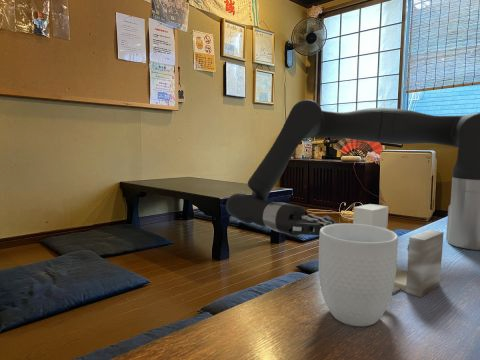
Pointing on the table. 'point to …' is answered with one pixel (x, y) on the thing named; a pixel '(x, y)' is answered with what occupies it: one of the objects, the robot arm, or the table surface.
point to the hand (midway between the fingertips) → (343, 231)
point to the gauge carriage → (371, 215)
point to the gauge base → (421, 264)
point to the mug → (357, 271)
